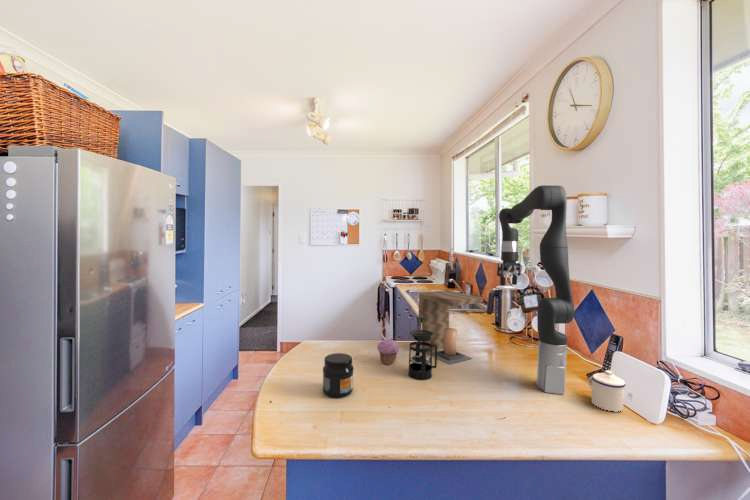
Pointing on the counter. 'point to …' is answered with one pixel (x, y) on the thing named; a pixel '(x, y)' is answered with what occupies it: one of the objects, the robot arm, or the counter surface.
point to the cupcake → (387, 351)
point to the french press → (421, 362)
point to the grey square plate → (450, 360)
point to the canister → (450, 342)
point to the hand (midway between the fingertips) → (508, 285)
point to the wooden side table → (440, 312)
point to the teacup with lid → (607, 391)
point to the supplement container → (338, 375)
